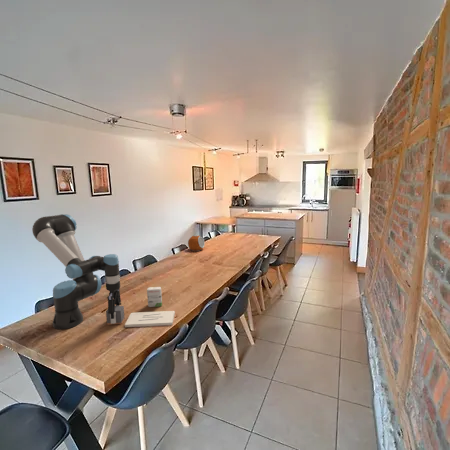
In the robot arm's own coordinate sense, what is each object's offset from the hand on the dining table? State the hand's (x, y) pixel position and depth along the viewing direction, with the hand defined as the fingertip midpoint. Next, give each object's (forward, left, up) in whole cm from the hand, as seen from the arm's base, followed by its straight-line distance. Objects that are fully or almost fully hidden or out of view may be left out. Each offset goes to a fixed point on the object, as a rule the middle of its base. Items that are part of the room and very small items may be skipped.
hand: (115, 319), depth 159 cm
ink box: (+19, +19, -1) cm, 27 cm away
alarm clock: (+41, +161, -1) cm, 166 cm away
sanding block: (0, 0, -1) cm, 1 cm away
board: (+20, 0, -1) cm, 20 cm away
